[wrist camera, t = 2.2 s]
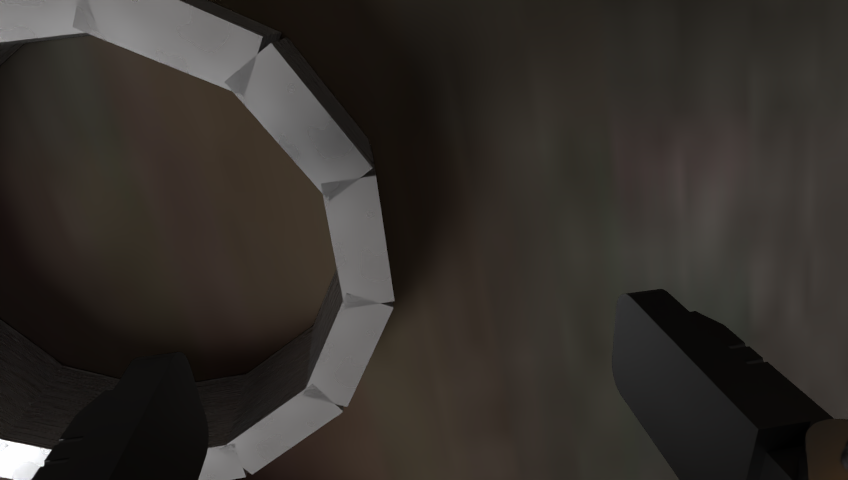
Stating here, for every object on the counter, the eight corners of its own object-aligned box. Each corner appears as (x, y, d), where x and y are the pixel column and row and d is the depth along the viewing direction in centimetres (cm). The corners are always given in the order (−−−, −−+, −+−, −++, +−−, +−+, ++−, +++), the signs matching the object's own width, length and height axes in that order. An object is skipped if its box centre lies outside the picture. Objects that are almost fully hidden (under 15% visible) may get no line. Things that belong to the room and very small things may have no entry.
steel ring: (341, -51, 16) (339, -70, 13) (405, 378, 23) (416, 446, 19) (-233, 11, 15) (-419, 8, 12) (9, 445, 22) (-60, 532, 18)
